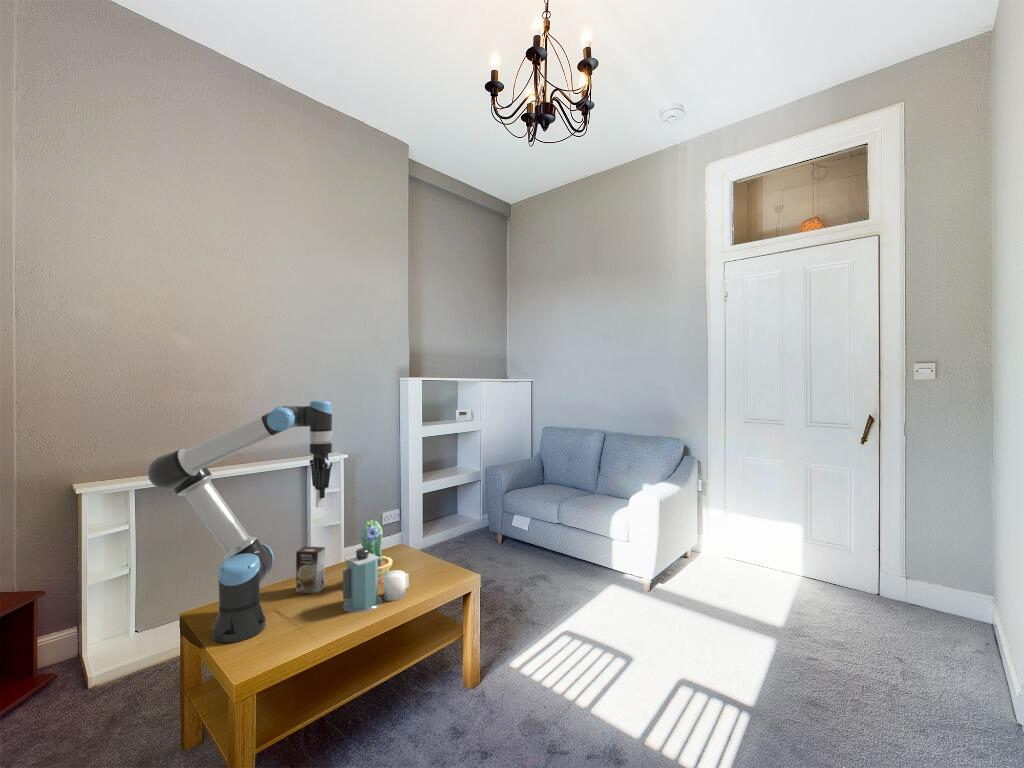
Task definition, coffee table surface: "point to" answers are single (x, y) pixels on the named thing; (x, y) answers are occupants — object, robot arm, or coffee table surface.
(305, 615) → the coffee table surface
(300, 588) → the coffee box
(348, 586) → the carafe
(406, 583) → the mug
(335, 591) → the coffee table surface
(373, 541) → the potted cactus
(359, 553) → the plunger
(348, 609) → the trivet
